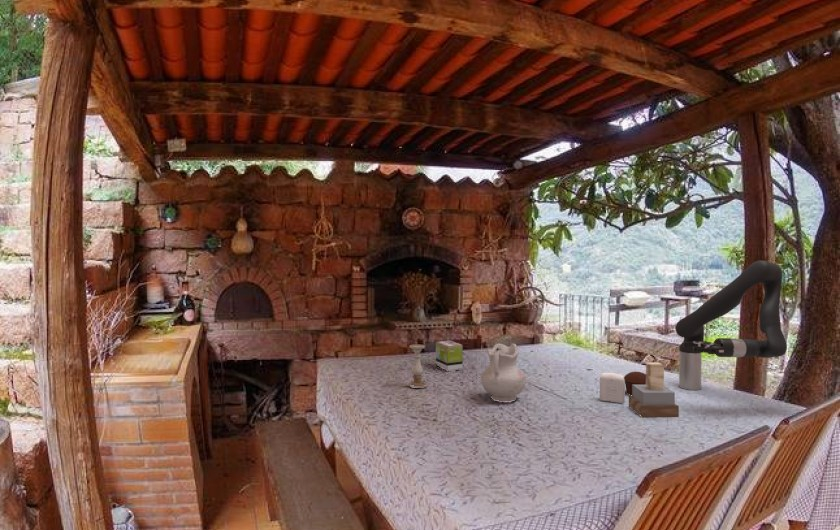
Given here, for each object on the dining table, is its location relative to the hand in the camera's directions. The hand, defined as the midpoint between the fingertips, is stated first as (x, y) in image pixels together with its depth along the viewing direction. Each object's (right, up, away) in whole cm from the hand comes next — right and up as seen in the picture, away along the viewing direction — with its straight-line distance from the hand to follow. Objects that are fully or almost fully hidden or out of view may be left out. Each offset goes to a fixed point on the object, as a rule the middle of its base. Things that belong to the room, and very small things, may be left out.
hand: (688, 347), depth 201 cm
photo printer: (-25, -26, +16) cm, 39 cm away
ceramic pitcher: (-72, -27, +20) cm, 79 cm away
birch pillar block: (-14, -17, 0) cm, 22 cm away
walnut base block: (-14, -27, +1) cm, 30 cm away
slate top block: (-14, -22, +1) cm, 26 cm away
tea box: (-92, -26, +80) cm, 125 cm away
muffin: (-9, -26, +26) cm, 38 cm away
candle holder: (-110, -27, +42) cm, 121 cm away
